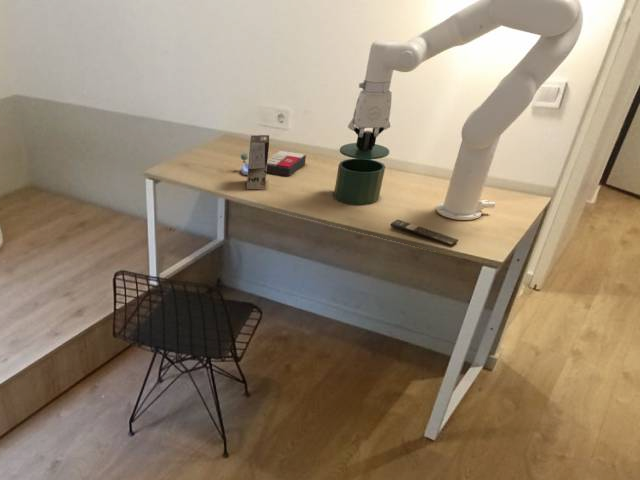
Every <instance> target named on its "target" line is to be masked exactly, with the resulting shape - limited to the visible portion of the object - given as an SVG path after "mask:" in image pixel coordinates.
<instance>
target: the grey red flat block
mask: <svg viewBox="0 0 640 480" xmlns="http://www.w3.org/2000/svg"><path fill="white" fill-rule="evenodd" d="M306 157H307V155H306V154H304V153H299V152H298V153H297V152H291V151H284V150H278V152H276V153H274V154H272V156H270V157H268V161H267V171H266V174H273V175H277V176H284V177H291V175H292V174H293V173H295V172H297V171H298V170H299V169H300V168H303V167H304V166H305V165H306V160H307V159H306Z"/></svg>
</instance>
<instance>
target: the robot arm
mask: <svg viewBox="0 0 640 480" xmlns="http://www.w3.org/2000/svg"><path fill="white" fill-rule="evenodd" d="M583 13H584V12H583V8H582V5H581V2H580V0H477V1H475V2H473V3H472V4H470V5H468V6H466V7H464V8H462V9H461V10H458V11H457V12H455V13H454V14H451V16H449V17H448V18H446V19H445V20H443V21H441V22H440V23H437V24H436V25H434V26H432V27H431V28H429V29H427V30H425V31H423V32H422V33H420V34H417V35H416V36H414V37H412V38H411V39H409V40H407V41H406V42H403V43H398V42H397V41H395V40H392V39H377V40H374V41H373V42H372V43H371V45H370V48H369V54H368V61H367V65H366V71H365V76H364V79H363V82H358V83H359V84H358V89H362V90H360V92H359V94H358V97H357V100H356V104H355V107H354V110H353V115H352V119H351V120H350V122H349V123H348V125H347V128H348V129H349V130H351V131H353V132H355V134H356V135H357V139H356V142H355V143H356V146H357V148H358V149H359V150H362V146H363V141H364V137H363V133H364V131H365V129H372V131H371V132H372V136H371V141H370V146H369V149H370V150H372V149H373V147H374V146H375V144H376V142H377V141H376V140H377V137H378V136H379V135H380V134H381V133H383V131H386V130H388V129H390V128H391V122H390V116H391V108H392V100H393V99H392V98H393V97H392V96H393V93H392V91H391V90H390V88H391V83H392V77H393V72H394V71H395V72H396V71H397V72H399V73H410V72H412V71H414V70H416V69H417V68H418V67H419V66H420V65H421V64H422V63H425V62H427V61H428V60H430V59H431V58H434V57H436V56H437V55H440V54H442V53H444V52H445V51H448V50H450V49H452V48H455V47H459V46H464V45H467V44H469V43H471V42H473V41H475V40H476V39H479V38H481V37H482V36H484V35H486V34H488V33H490V32H492V31H494V30H496V29H498V28H500V27H501V26H502V27H506V28H509V29H512V30H517V31H520V32H524V33H530V34H533V35H536V36H537V35H538V36H540V37H539V38H538V40H537V41H536V42H535V44H534V45H533V46H532V47H531V48H530V49H529V51H528V52H527V53H526V54H525V56H523V58H522V59H521V60H520V61H519V62H518V63H517V65H516V66H515V67H514V68H513V69H511V71H510V72H508V74H507V75H505V76H504V77H503V78H502V79H501V80H500V81H499V83H498V85H497V86H496V87H495V88H494V90H493V91H491V93H490V94H489V95H488V96H487V97H486V99H485V100H484V101H483V102H482V103H481V104H480V105H479V106H477V107H476V108H475V109H473V110H472V111H471V113H470V114H469V115H468V117H467V118H466V120H465V122H464V123H463V126H462V128H461V134H460V135H461V142H460V145H459V149H458V152H457V156H456V160H455V162H454V166H453V170H452V174H451V176H450V181H449V185H448V188H447V191H446V195H445V198H444V201H443V202H442V203H440V204H438V205H437V208H436V212H437V214H439V215H441V216H442V217H445V218H448V219H452V220H457V221H458V220H459V221H472V220H476V219H478V218H480V217H481V216H482V213H483V212H482V210H484V209H495V207H496V202H495V201H488V199H481V198H482V195H483V192H484V188H485V184H486V182H487V179H488V175H489V173H490V169H491V166H492V163H493V159H494V157H495V154H496V152H497V151H496V150H497V147H498V144H499V142H500V139H501V136H502V135H503V134H504V132H506V130H507V129H508V128H509V127H510V126H511V125H512V124H513V123H515V121H516V120H517V119H518V118H519V117H520V116H521V115H522V114H523V112H525V111H526V110H527V108H528V107H529V106H530V104H531V103H532V101H533V100H534V98H535V96H536V94H537V91H539V89H540V88H541V86H543V84H545V82H546V81H547V80H548V79H549V78H550V77H551V76H552V75H553V73H554V72H555V71H556V70H558V68H559V67H560V65H562V63H563V62H565V60H566V59H567V58H568V56H569V55H570V54H571V52H572V51H573V49H574V48H575V46H576V45H577V43H578V40H579V38H580V35H581V33H582V30H583V23H584V14H583Z"/></svg>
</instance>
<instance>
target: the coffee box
mask: <svg viewBox="0 0 640 480" xmlns="http://www.w3.org/2000/svg"><path fill="white" fill-rule="evenodd" d="M249 141H250V142H249V153H248V155H249V156H248V163H249V164H248V175H247V181H246V190H260V191H261V190H265V188H266V178H267V173H266V171H267V161H268V159H269V149H270V135H268V134H259V135H255V134H254V135H252V134H251V135H250V140H249Z"/></svg>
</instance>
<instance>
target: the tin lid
mask: <svg viewBox="0 0 640 480" xmlns="http://www.w3.org/2000/svg"><path fill="white" fill-rule="evenodd" d="M371 136H372V131H371V130H364V133H363V137H364V141H363V146H362V150H359V149H358V148H357V146H356V143H357V142H351V143H346V144H344V145H341V146H340V148H339V153H340V154H341V155H342V156H344V157H348V158H350V159H371V160H378V159H383V158H386V157H388V156H389V155H390V150H389V148H388V147H386V146H384V145H380V144H377V143H375V146H374V147H373V149H372V150H370V149H369V146H370V141H371Z"/></svg>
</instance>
